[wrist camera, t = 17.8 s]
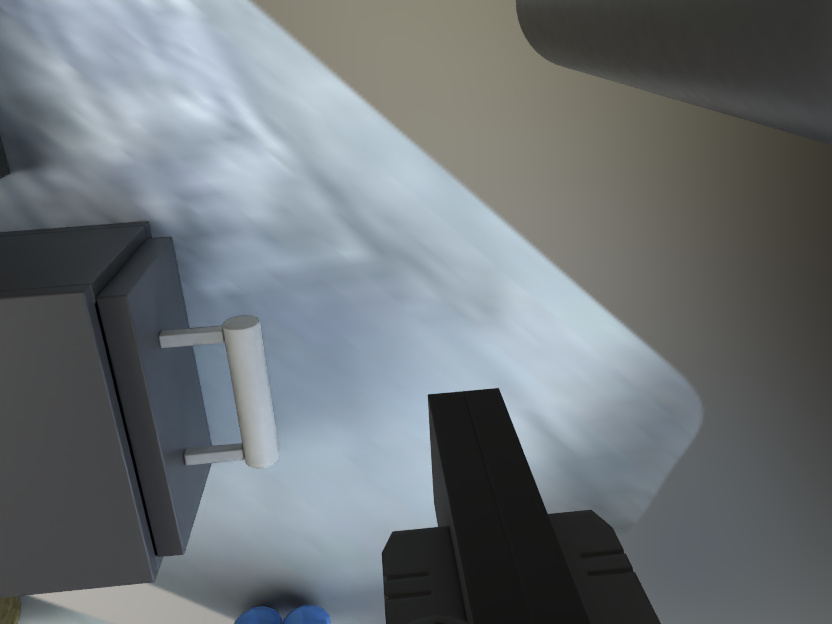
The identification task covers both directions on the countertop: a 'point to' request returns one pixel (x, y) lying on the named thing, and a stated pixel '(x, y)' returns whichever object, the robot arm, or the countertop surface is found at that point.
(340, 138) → the countertop surface
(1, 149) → the control block
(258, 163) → the countertop surface
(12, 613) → the fennel bulb
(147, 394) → the grey drawer with handle
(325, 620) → the grapes
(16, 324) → the tilted charcoal box
